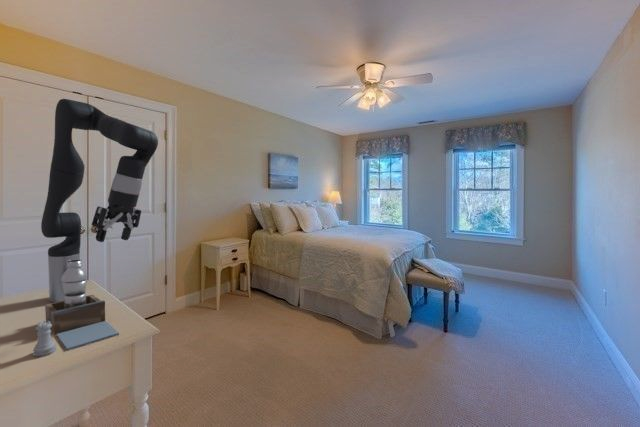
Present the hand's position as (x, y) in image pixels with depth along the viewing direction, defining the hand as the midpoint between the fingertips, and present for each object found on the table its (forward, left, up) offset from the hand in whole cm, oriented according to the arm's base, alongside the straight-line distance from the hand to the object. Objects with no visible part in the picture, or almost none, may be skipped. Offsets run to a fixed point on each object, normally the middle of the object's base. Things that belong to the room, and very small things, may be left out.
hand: (112, 240), depth 93 cm
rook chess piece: (+5, -17, -27) cm, 33 cm away
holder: (-11, -7, -27) cm, 30 cm away
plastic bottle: (-11, -7, -27) cm, 30 cm away
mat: (+2, -7, -27) cm, 28 cm away
